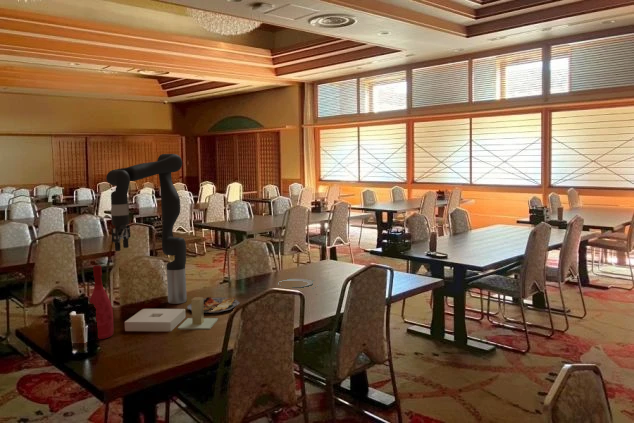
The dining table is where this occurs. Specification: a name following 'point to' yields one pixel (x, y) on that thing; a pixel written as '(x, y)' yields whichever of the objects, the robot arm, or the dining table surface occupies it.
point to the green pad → (205, 325)
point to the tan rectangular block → (197, 310)
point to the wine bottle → (102, 306)
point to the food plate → (221, 302)
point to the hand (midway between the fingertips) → (122, 249)
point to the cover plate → (155, 320)
